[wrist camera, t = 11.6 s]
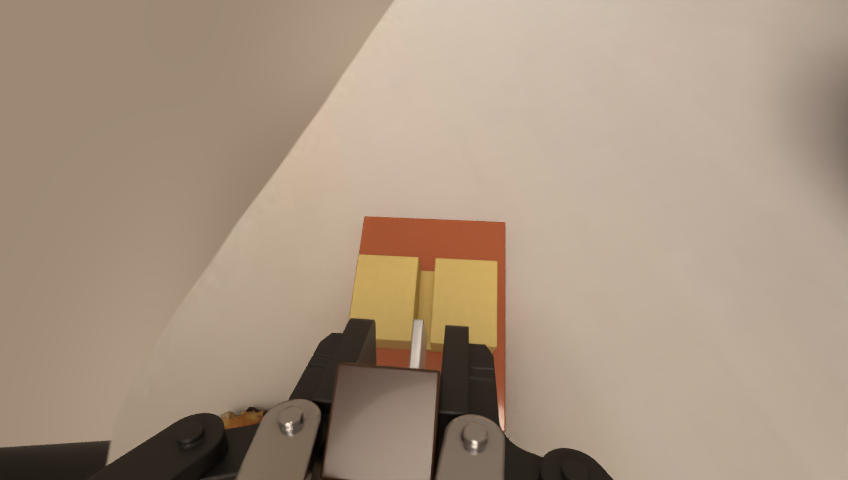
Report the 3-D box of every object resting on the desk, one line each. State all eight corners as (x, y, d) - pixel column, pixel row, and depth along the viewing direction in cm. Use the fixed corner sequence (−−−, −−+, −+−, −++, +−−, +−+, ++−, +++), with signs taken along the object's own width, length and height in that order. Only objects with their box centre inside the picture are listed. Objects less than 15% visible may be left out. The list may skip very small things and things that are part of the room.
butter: (491, 355, 31) (497, 347, 27) (358, 346, 32) (346, 337, 28) (492, 278, 33) (497, 260, 29) (368, 271, 34) (358, 253, 30)
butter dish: (503, 431, 30) (505, 431, 29) (338, 417, 31) (334, 417, 30) (503, 226, 36) (505, 221, 35) (366, 221, 37) (364, 215, 36)
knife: (437, 523, 16) (422, 660, 7) (379, 517, 16) (292, 642, 7) (448, 336, 18) (447, 261, 10) (398, 333, 19) (353, 255, 10)
